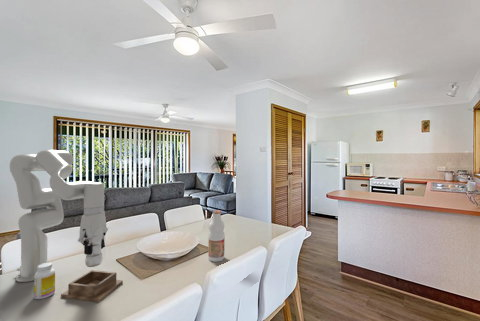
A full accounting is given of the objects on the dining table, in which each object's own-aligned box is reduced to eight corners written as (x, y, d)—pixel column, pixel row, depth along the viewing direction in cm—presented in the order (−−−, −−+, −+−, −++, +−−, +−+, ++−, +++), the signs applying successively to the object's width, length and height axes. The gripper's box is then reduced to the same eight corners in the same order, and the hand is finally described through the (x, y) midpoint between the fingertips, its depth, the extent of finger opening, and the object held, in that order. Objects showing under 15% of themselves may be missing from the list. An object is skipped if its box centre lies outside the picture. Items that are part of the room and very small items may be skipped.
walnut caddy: (60, 297, 92) (61, 284, 92) (89, 279, 106) (89, 268, 106) (98, 302, 89) (98, 289, 89) (122, 283, 103) (122, 272, 103)
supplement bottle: (59, 290, 97) (59, 261, 97) (46, 299, 90) (46, 268, 90) (43, 290, 96) (43, 261, 96) (29, 300, 90) (29, 268, 90)
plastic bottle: (99, 260, 102) (99, 217, 102) (105, 265, 98) (105, 220, 98) (82, 265, 97) (83, 220, 97) (88, 270, 93) (88, 223, 93)
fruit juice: (205, 257, 131) (206, 210, 131) (219, 253, 136) (220, 208, 136) (212, 263, 123) (213, 213, 123) (227, 259, 128) (227, 211, 128)
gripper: (101, 206, 106) (101, 243, 106) (68, 214, 89) (68, 259, 89) (115, 206, 105) (115, 244, 105) (84, 215, 88) (84, 260, 88)
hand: (94, 250), depth 97 cm, fingers closed on plastic bottle, 5 cm apart
